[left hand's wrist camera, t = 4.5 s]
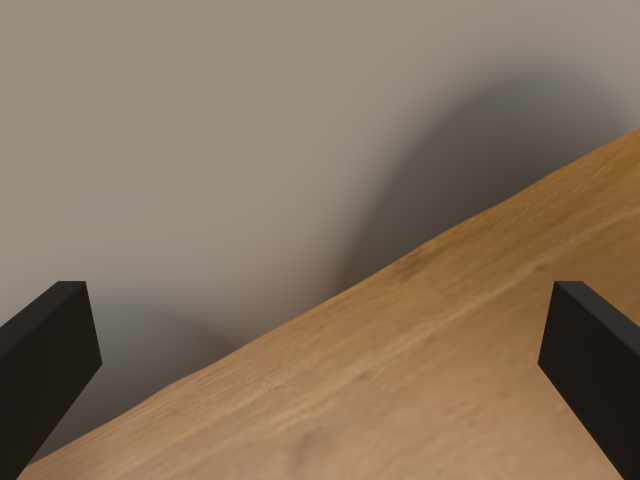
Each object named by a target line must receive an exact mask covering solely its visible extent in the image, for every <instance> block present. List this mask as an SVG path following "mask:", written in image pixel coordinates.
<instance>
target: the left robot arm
mask: <svg viewBox="0 0 640 480" xmlns="http://www.w3.org/2000/svg"><path fill="white" fill-rule="evenodd" d="M101 365H102V359H101V354H100V350H99V345H98V340H97V335H96V330H95V325H94V320H93V315H92V311H91V306H90V301H89V296H88V291H87V286H86V282H85V281H58V282H56V283H55V284H54V285H53V286H51V287H50V288H49V289H48V290H46V291H45V292H44V293H43V294H41V295H40V296H39V297H38V298H36V299H35V300H34V301H33V302H32V303H30V304H29V305H28V306H26V307H25V308H24V309H23V310H22V311H20V312H19V313H18V314H17V315H15V316H14V317H13V318H12V319H10V320H9V321H8V322H6V323H5V324H4V325H3V326H2V327H0V480H16V479H17V478H18V476H19V475H20V474H21V472H22V471H23V470H24V468H25V467H26V466H27V464H28V463H29V462H30V460H31V459H32V458H33V456H34V455H35V454H36V452H37V451H38V450H39V448H40V447H41V446H42V444H43V443H44V441H45V440H46V439H47V437H48V436H49V435H50V433H51V432H52V431H53V429H54V428H55V427H56V425H57V424H58V423H59V421H60V420H61V419H62V417H63V416H64V415H65V413H66V412H67V411H68V409H69V408H70V407H71V405H72V404H73V403H74V401H75V400H76V399H77V397H78V396H79V395H80V393H81V392H82V390H83V389H84V388H85V386H86V385H87V384H88V382H89V381H90V380H91V378H92V377H93V376H94V374H95V373H96V372H97V370H98V369H99V368H100V366H101ZM538 365H539V366H540V368H541V369H542V370H543V372H544V373H545V374H546V376H547V377H548V378H549V380H550V381H551V382H552V384H553V385H554V386H555V388H556V389H557V391H558V392H559V393H560V395H561V396H562V397H563V399H564V400H565V401H566V403H567V404H568V405H569V407H570V408H571V409H572V411H573V412H574V413H575V415H576V416H577V417H578V419H579V420H580V421H581V423H582V424H583V425H584V427H585V428H586V429H587V431H588V432H589V433H590V435H591V436H592V437H593V439H594V440H595V441H596V443H597V444H598V446H599V447H600V448H601V450H602V451H603V452H604V454H605V455H606V456H607V458H608V459H609V460H610V462H611V463H612V464H613V466H614V467H615V468H616V470H617V471H618V472H619V474H620V475H621V476H622V478H623V479H624V480H640V327H639V326H637V325H636V324H635V323H634V322H632V321H631V320H630V319H629V318H627V317H626V316H625V315H624V314H622V313H621V312H620V311H619V310H617V309H616V308H615V307H614V306H612V305H611V304H610V303H609V302H607V301H606V300H605V299H604V298H602V297H601V296H600V295H599V294H597V293H596V292H595V291H594V290H592V289H591V288H590V287H589V286H587V285H586V284H585V283H584V282H582V281H554V286H553V291H552V296H551V301H550V306H549V311H548V315H547V320H546V325H545V330H544V335H543V340H542V345H541V350H540V354H539V359H538Z"/></svg>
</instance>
